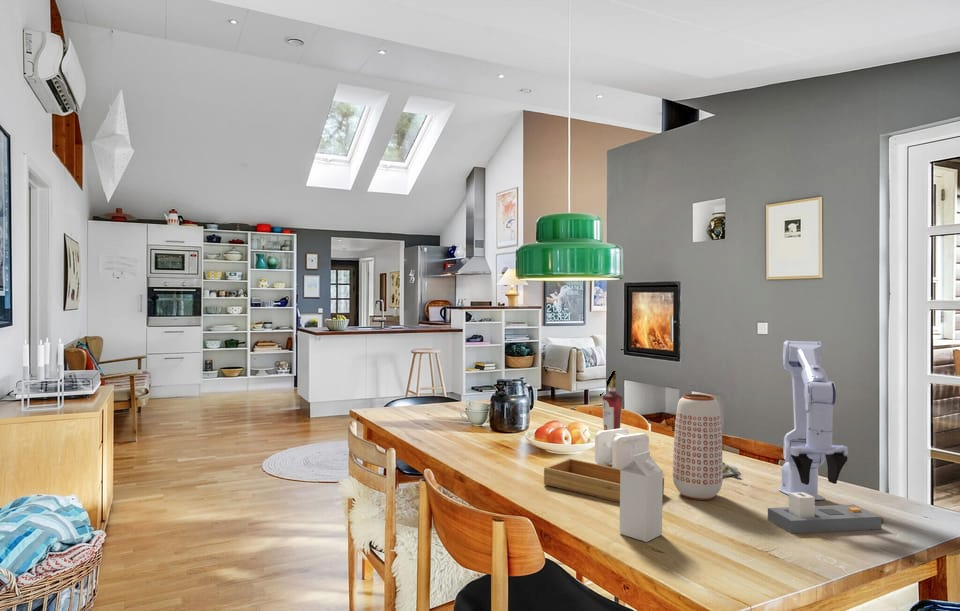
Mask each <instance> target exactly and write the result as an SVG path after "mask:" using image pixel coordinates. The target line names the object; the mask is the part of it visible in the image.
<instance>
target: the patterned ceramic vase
mask: <svg viewBox="0 0 960 611" xmlns="http://www.w3.org/2000/svg"><path fill="white" fill-rule="evenodd" d="M721 418H722V417H721V410H720V404H719V402H718V400H716V398H715V397H714V396H713V395H708V394H701V393H687V394H683V395H682V397H681V398H679V400H678V402H677V406H676V414H675V423H674V435H673V436H674V437H673V455H672V457H673V458H672V480H673V485H674V486H675V488H676V490H677V491H678V492H679V493H680V495H681V496H682V497H685V498H687V499H691V500H695V501H710V500H712V499H714V498H715V496H716V495H717V494H718V493H719V492H720V491H721V490H722V486H723V480H724V477H723V463H724V462H723V434H722V421H721V420H722V419H721ZM722 462H723V463H722Z"/></svg>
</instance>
